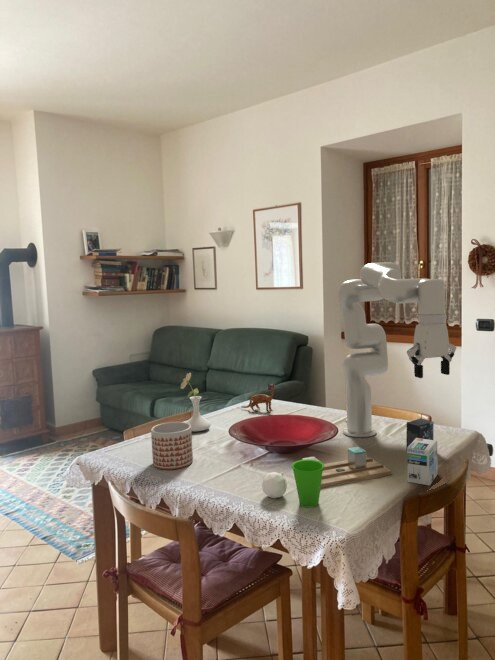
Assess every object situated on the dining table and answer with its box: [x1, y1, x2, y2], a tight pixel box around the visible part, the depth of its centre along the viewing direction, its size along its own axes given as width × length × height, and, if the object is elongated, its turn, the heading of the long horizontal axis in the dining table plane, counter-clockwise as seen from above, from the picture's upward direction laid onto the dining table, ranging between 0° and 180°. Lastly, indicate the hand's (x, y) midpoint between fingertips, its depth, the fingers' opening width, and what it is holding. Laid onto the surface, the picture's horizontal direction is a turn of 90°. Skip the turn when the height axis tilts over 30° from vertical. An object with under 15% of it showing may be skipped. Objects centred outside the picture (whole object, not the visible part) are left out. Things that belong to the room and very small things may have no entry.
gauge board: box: [301, 456, 392, 489], centre depth 165 cm, size 14×26×6 cm, turn 109°
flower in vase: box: [179, 372, 212, 432], centre depth 217 cm, size 13×11×25 cm
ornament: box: [261, 471, 288, 499], centre depth 150 cm, size 7×7×8 cm
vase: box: [150, 421, 194, 471], centre depth 181 cm, size 14×14×13 cm
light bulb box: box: [406, 438, 438, 486], centre depth 159 cm, size 11×7×11 cm, turn 148°
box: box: [405, 417, 435, 452], centre depth 182 cm, size 8×6×11 cm
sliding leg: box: [347, 446, 367, 469], centre depth 166 cm, size 5×4×6 cm
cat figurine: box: [241, 383, 276, 414], centre depth 244 cm, size 18×7×14 cm, turn 65°
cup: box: [291, 459, 325, 508], centre depth 144 cm, size 9×9×11 cm
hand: (432, 375), depth 160 cm, fingers open, 9 cm apart
